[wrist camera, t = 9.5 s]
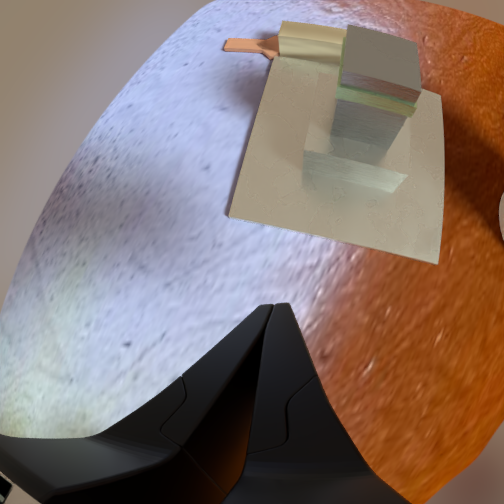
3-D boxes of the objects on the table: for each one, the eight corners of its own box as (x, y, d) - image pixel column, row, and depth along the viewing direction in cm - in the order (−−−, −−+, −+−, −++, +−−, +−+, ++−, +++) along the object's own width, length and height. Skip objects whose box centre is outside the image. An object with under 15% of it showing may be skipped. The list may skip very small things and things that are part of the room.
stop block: (404, 82, 23) (413, 62, 20) (279, 57, 25) (278, 35, 22) (403, 65, 23) (411, 46, 20) (284, 42, 25) (282, 20, 22)
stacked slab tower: (432, 265, 21) (522, 239, 10) (230, 219, 23) (182, 155, 12) (437, 101, 23) (482, 25, 12) (275, 63, 25) (264, -30, 14)
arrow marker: (222, 57, 25) (221, 53, 25) (231, 36, 26) (230, 32, 25) (288, 61, 24) (288, 58, 24) (293, 40, 25) (293, 36, 24)
